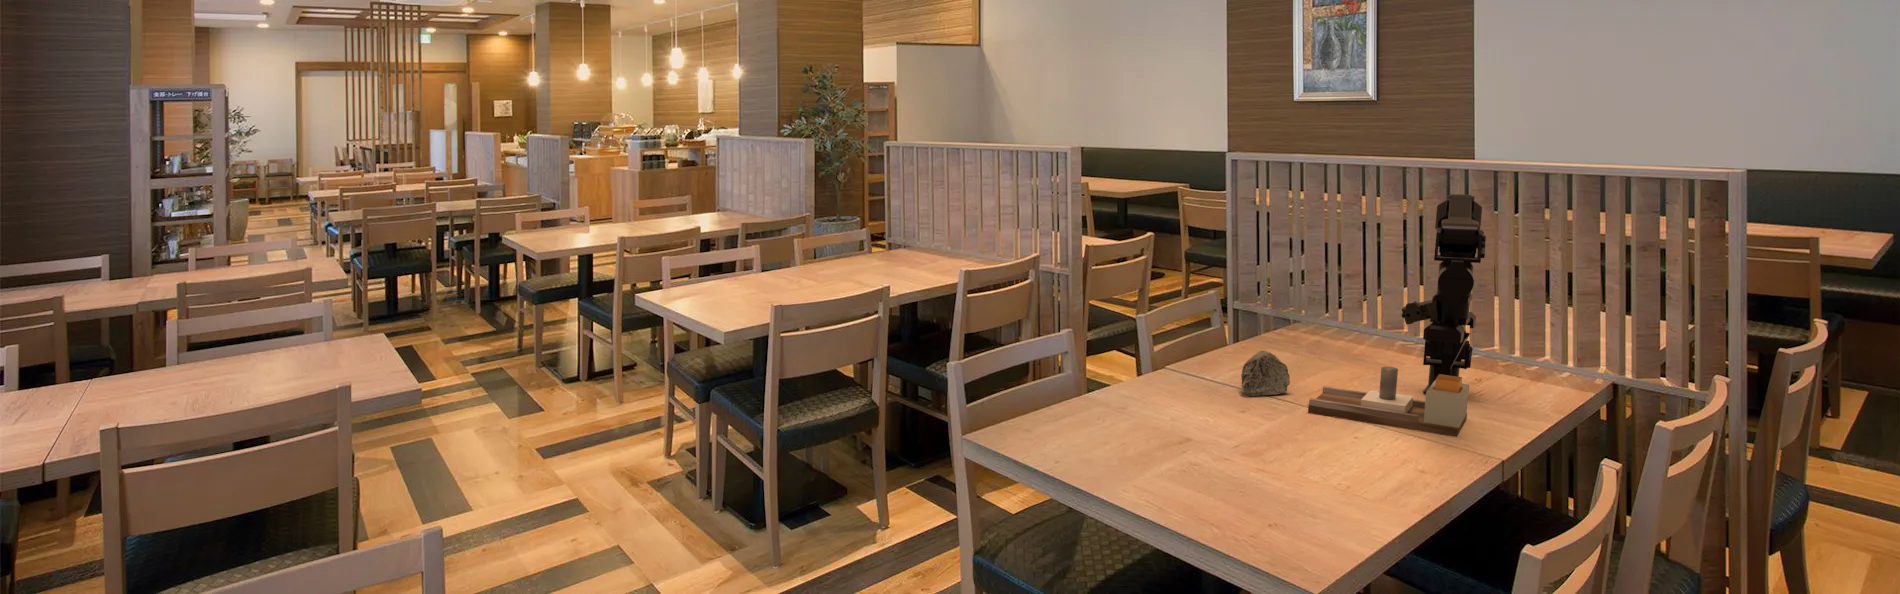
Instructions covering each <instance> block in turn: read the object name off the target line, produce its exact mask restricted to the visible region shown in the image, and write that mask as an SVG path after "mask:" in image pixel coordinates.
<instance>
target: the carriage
mask: <svg viewBox="0 0 1900 594" xmlns="http://www.w3.org/2000/svg"><path fill="white" fill-rule="evenodd" d="M1398 374H1399V369H1398V368H1397V367H1393V366H1381V370H1380V379H1379V380H1380V381H1379V390H1372V389H1369V391H1368V392H1367V394H1366V395H1365V396H1364V397H1363V398H1362V399H1361V406H1364V407H1371V408H1377V409H1384V410H1390V411H1396V412H1403V413H1407V412H1408V411H1409V410H1410V408H1411V407H1412V403H1413V399H1414V396H1413V395H1407V394H1399V393H1397V387H1398V386H1397V385H1398Z"/></svg>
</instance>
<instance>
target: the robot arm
mask: <svg viewBox="0 0 1900 594" xmlns="http://www.w3.org/2000/svg"><path fill="white" fill-rule="evenodd" d="M1435 212H1436V213H1435V225H1434V230H1436V236H1435V243H1434V244H1435V246H1434V257H1433V258H1434V259H1433V261H1434V262H1435V261H1436V262H1437V261H1438V262H1440V263H1439V264H1438V272H1437V273H1438V274H1437V275H1438V276H1437V283H1436V284H1437V285H1436V294H1434V295H1433V296H1432V298H1431V299H1429V300H1424V301H1421V302H1418V301H1414V302H1408V303H1406V305H1404V307H1402V308H1401V312H1402V314H1401V317H1402V318H1403V319H1404V322H1405V325H1412V324H1414V323H1417V322H1421V321H1427V320H1429V323H1430V324H1429V325H1427V326H1426V327H1425V328H1424V329H1423V338H1422V340H1425V341H1424V348H1423V349H1424V352H1423V359H1422V360H1423V362H1422V365H1423V366H1429V371H1428V380H1427V381H1428V383H1427V386H1425V388H1424V390H1423V394H1425V395H1426V392H1427V390H1428V389H1429V388H1430V386H1431V385H1432V384H1433V382H1434V381H1435V380H1436V378H1437V376H1438V375H1439V374H1441V375H1449V376H1456V377H1460V369H1463V370H1467V369H1470V368H1471V367H1472V366H1471V364H1472V354H1473V350H1474V349H1473V347H1472V346H1471V343H1470V340H1468V339H1469V337H1470V335H1471V333H1470V332H1467V331H1466V329H1465V328H1464V326H1469V329H1474V328H1475V327H1476V323H1477V316H1476V315H1475V314H1474V313H1473V312H1472V311H1470V306H1471V301H1472V300H1473V294H1472V290H1473V289H1474V287H1475V286H1474V284H1475V280H1474V275H1473V274H1474V265H1473V263H1476V264H1481V262H1482V261H1481V260H1482V259H1485V255H1486V240H1487V238H1486V237H1487V236H1486V235H1485V234H1484V233H1485V232H1484V230H1483V229H1481V226H1482V218H1483V217H1482V215H1483V206H1481V205H1480V204H1479V203H1477V201H1476V200H1475V195H1471V194H1459V193H1458V194H1456V193H1453V194H1452V193H1451V194H1450V195H1446V199H1445V200H1444V201H1443V202H1441V203H1439V204H1438V205H1437V206H1436V211H1435ZM1438 253H1439V254H1438ZM1476 255H1477V256H1476Z"/></svg>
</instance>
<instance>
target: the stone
mask: <svg viewBox="0 0 1900 594" xmlns="http://www.w3.org/2000/svg"><path fill="white" fill-rule="evenodd" d="M1240 376H1241V385H1240V386H1241V388H1242V389H1243V391H1244V393H1245V394H1247V395H1248V396H1251V397H1257V396H1269V395H1271V396H1272V395H1280V394H1282V393H1286V392H1287V391H1288V386H1289V385H1290V383H1291V380H1290V373H1289V369H1288V367H1287V365H1286V364H1285V363H1284V362H1282V361H1281V359H1280V358H1279V357H1277V356H1276V355H1275V354H1272V353H1271V352H1269V351H1267V350H1259V351H1258V352H1257V351H1256V353H1255V354H1253V355H1252V356H1251V357H1250V358H1249V359H1247V360H1246V362H1245V363H1244V365H1243V367H1242V371H1241V375H1240Z"/></svg>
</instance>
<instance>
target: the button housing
mask: <svg viewBox="0 0 1900 594" xmlns="http://www.w3.org/2000/svg"><path fill="white" fill-rule="evenodd" d="M1435 381H1436V380H1435ZM1435 381H1434V382H1433V384H1432V385H1431V386H1430V388H1429V389H1428V390H1427V392H1426V394H1425V400H1424V401H1425V412H1424V422H1425V423H1431V424H1437V425H1443V426H1450V427H1456V428H1459V427H1460V425H1461V423H1462V421H1463V420H1464V418H1465V416H1466V414H1467V415H1468V402H1469V393H1470V384H1468V383H1462V386H1461V392H1460V393H1457V392H1450V391H1443V390H1436V389H1435Z"/></svg>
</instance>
